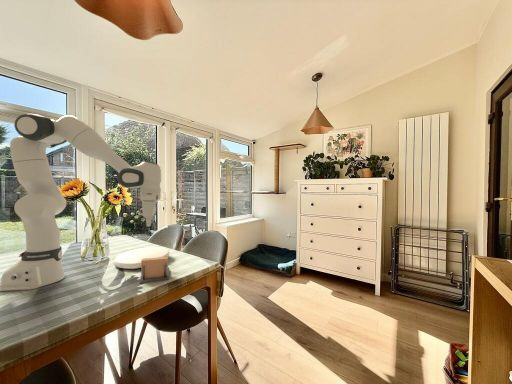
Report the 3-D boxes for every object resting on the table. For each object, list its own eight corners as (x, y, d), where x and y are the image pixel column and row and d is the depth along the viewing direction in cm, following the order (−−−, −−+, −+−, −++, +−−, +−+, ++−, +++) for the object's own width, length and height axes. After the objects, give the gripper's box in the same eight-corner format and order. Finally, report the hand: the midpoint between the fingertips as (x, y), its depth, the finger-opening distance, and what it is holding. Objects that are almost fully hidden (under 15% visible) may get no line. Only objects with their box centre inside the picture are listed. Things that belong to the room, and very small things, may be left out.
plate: (131, 265, 108) (103, 256, 122) (133, 278, 109) (104, 268, 123) (178, 246, 132) (150, 240, 146) (179, 257, 133) (151, 250, 146)
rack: (139, 283, 99) (139, 267, 99) (143, 272, 112) (143, 258, 111) (168, 279, 104) (168, 264, 103) (169, 269, 116) (169, 255, 116)
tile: (141, 278, 102) (141, 260, 102) (142, 276, 105) (142, 258, 104) (167, 275, 105) (167, 258, 105) (167, 273, 108) (167, 256, 108)
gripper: (146, 194, 118) (145, 221, 118) (140, 196, 99) (139, 228, 99) (159, 195, 120) (158, 221, 120) (155, 197, 101) (154, 228, 101)
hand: (149, 224), depth 109 cm, fingers open, 8 cm apart
